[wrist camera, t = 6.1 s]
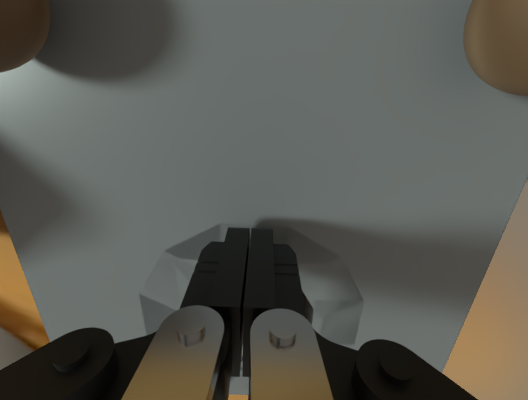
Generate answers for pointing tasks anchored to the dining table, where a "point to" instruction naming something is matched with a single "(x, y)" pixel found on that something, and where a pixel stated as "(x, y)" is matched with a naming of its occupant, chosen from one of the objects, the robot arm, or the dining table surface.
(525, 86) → the walnut ball
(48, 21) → the walnut ball
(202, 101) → the hole plate
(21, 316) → the dining table surface
